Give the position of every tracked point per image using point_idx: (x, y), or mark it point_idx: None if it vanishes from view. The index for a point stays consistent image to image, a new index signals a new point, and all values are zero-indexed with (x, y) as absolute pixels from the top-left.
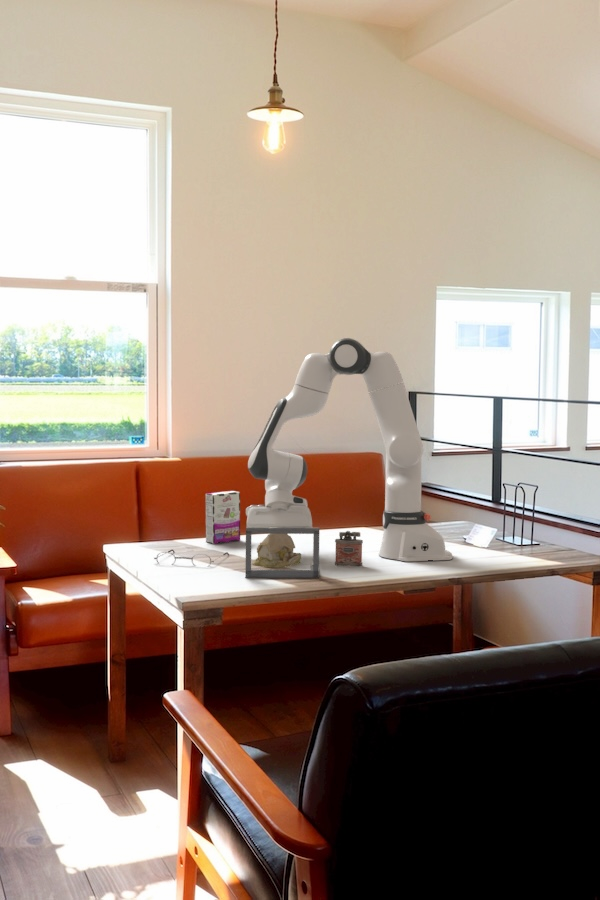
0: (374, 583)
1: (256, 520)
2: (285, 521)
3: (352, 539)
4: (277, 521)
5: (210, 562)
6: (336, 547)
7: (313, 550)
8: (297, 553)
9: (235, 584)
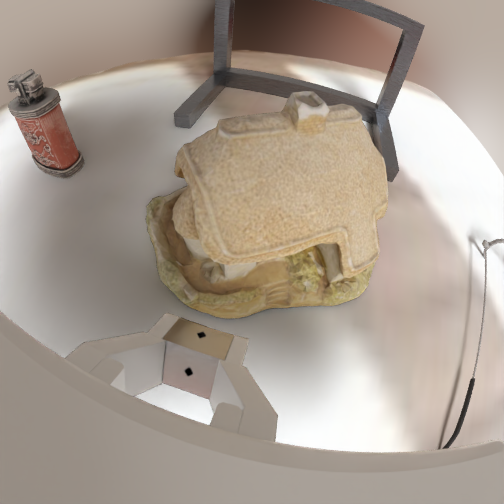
0: (145, 60)
1: (484, 496)
2: (22, 397)
3: (17, 105)
4: (146, 475)
5: (487, 245)
6: (63, 117)
7: (230, 27)
8: (154, 219)
9: None
